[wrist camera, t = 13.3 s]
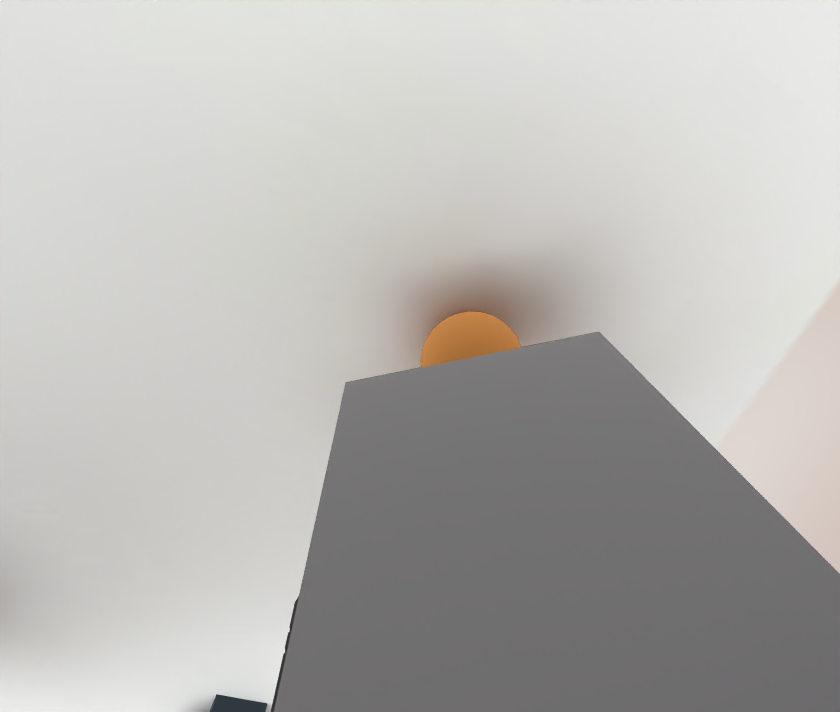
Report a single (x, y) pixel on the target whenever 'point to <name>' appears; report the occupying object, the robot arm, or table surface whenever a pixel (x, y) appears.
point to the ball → (467, 338)
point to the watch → (236, 705)
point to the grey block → (549, 553)
